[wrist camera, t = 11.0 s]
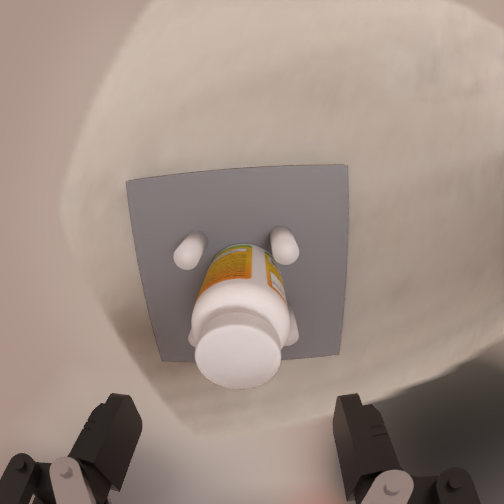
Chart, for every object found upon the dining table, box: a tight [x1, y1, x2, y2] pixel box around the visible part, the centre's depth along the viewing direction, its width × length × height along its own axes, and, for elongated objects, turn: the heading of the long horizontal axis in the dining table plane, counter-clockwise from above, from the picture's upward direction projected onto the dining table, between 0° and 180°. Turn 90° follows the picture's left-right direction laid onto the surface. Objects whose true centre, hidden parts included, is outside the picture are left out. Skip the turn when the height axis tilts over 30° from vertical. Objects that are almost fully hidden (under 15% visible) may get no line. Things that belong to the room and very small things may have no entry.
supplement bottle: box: [191, 244, 290, 389], centre depth 17 cm, size 5×5×10 cm
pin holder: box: [126, 165, 349, 362], centre depth 21 cm, size 16×16×5 cm
